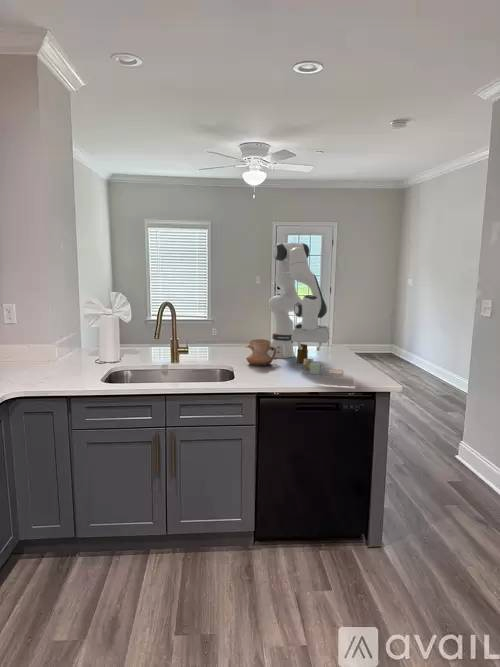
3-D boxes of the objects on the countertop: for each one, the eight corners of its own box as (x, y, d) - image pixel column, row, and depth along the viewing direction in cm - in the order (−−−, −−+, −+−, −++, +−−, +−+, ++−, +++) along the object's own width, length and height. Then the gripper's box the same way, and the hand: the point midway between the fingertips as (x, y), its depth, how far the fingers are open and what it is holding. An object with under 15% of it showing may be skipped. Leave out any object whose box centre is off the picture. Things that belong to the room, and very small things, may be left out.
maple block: (303, 369, 238) (303, 360, 237) (304, 367, 243) (304, 358, 242) (312, 369, 237) (312, 361, 236) (312, 367, 242) (313, 359, 241)
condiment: (303, 363, 258) (304, 343, 256) (311, 366, 250) (312, 345, 248) (293, 364, 255) (294, 344, 253) (301, 367, 247) (302, 346, 245)
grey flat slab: (300, 375, 229) (300, 373, 228) (303, 368, 243) (303, 366, 243) (343, 378, 224) (343, 376, 224) (342, 371, 239) (343, 369, 239)
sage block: (309, 373, 229) (310, 364, 228) (310, 371, 233) (310, 362, 233) (319, 374, 228) (319, 365, 227) (319, 372, 233) (319, 363, 232)
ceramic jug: (243, 366, 245) (244, 342, 243) (246, 361, 259) (247, 337, 257) (275, 368, 243) (276, 343, 241) (276, 362, 257) (277, 339, 255)
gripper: (329, 325, 237) (328, 349, 239) (292, 324, 241) (291, 348, 243) (329, 326, 231) (328, 352, 233) (291, 325, 235) (290, 350, 237)
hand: (309, 350), depth 238 cm, fingers open, 8 cm apart
